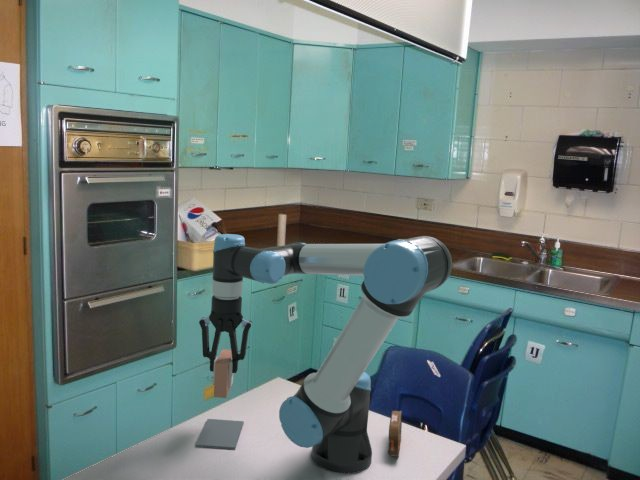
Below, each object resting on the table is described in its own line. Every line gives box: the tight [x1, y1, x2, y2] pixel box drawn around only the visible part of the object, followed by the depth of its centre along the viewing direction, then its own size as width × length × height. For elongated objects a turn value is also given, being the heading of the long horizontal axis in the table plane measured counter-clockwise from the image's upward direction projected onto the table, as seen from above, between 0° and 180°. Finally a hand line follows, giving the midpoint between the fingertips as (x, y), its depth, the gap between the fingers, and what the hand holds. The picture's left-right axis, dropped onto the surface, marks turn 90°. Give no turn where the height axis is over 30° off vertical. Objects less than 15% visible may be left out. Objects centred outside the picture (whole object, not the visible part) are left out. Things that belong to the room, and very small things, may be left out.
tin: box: [388, 410, 403, 458], centre depth 151 cm, size 15×3×8 cm, turn 168°
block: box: [213, 349, 232, 399], centre depth 149 cm, size 3×9×10 cm
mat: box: [195, 418, 245, 451], centre depth 152 cm, size 10×14×1 cm
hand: (223, 383), depth 148 cm, fingers closed on block, 3 cm apart
